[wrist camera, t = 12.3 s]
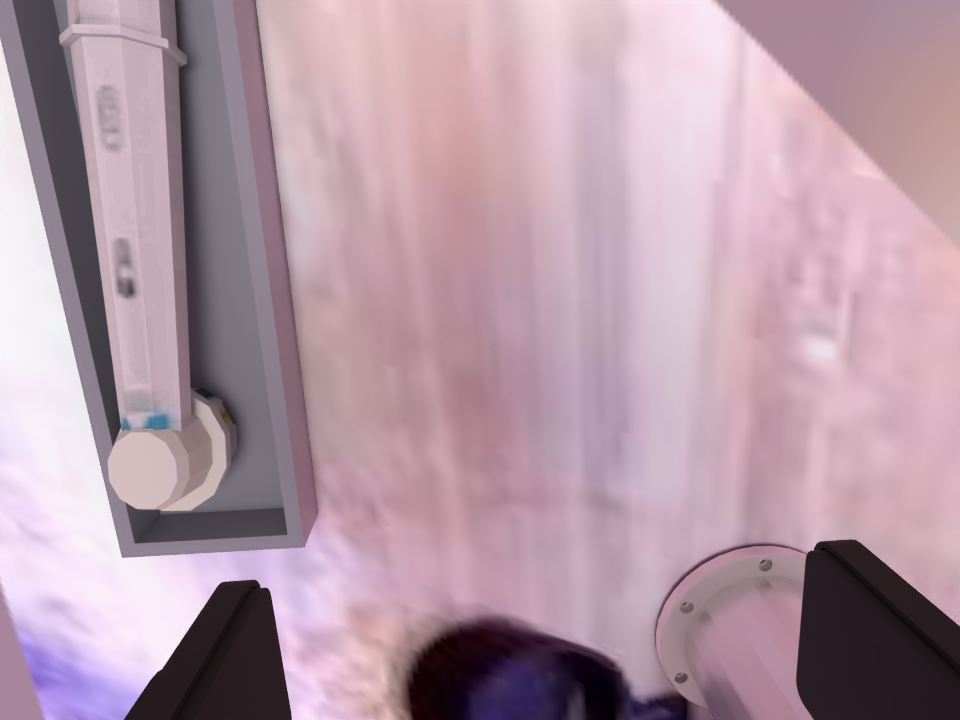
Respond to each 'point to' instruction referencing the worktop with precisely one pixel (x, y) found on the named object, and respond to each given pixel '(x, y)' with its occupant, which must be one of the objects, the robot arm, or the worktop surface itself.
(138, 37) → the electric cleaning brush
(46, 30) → the tray
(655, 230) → the worktop surface
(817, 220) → the worktop surface
